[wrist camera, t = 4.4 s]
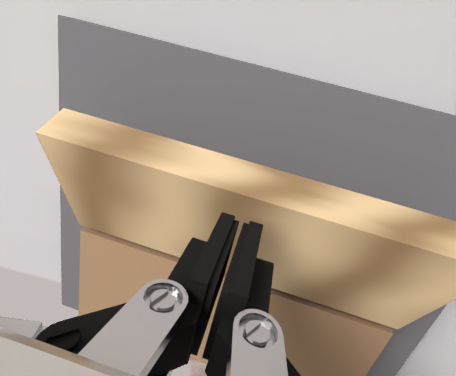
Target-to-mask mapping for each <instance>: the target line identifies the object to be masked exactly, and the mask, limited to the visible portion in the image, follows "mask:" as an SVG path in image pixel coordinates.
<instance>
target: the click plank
mask: <svg viewBox="0 0 456 376" xmlns="http://www.w3.org/2000/svg"><path fill="white" fill-rule="evenodd" d="M35 133H36V135H37V137H38V139H39V141H40V143H41V145H42V147H43V149H44V152H45V154H46V156H47V158H48V160H49V162H50V164H51V166H52V168H53V170H54V172H55V174H56V177H57V179H58V181H59V183H60V185H61V187H62V189H63V191H64V193H65V195H66V197H67V199H68V202H69V204H70V206H71V208H72V210H73V212H74V214H75V216H76V218H77V220H78V222H79V224H80V225H83V226H86V227H89V228H92V229H95V230H98V231H101V232H104V233H107V234H110V235H113V236H116V237H119V238H122V239H125V240H128V241H131V242H134V243H137V244H140V245H143V246H146V247H149V248H152V249H155V250H158V251H161V252H164V253H167V254H170V255H173V256H176V257H179V258H180V257H181V255H182V254H183V252H184V250H185V248H186V247H187V245H188V243H189V242H190V240H191V239H192V238H193V237H194V238H197V239H200V240H203V241H206V242H207V241H208V239H209V237H210V235H211V233H212V231H213V229H214V227H215V225H216V223H217V221H218V219H219V217H220V215H221V213H222V212H224V213H227V214H230V215H234V216H235V220H237V221H239V225H238V228H237V232H236V235H235V239H234V242H233V246H232V249H231V253H230V256H229V260H228V264H227V267H226V271H225V273H227V271H228V268H229V265H230V262H231V259H232V256H233V253H234V250H235V247H236V244H237V241H238V238H239V235H240V232H241V229H242V226H243V223H247V224H249V222H250V221H253V222H256V223H260V224H263V229H262V234H261V239H260V243H259V248H258V253H257V258H259V259H262V260H265V261H269V262H272V263H274V269H273V278H272V287H271V288H273V289H276V290H279V291H282V292H286V293H289V294H292V295H295V296H298V297H301V298H304V299H307V300H310V301H313V302H316V303H319V304H322V305H325V306H328V307H331V308H334V309H337V310H340V311H343V312H346V313H349V314H352V315H355V316H358V317H361V318H364V319H367V320H370V321H373V322H376V323H379V324H382V325H385V326H389V327H392V328H395V329H400V328H402V327H403V326H405V325H407V324H409V323H411V322H413V321H415V320H417V319H419V318H421V317H423V316H425V315H426V314H428V313H430V312H432V311H434V310H436V309H438V308H440V307H442V306H444V305H446V304H447V303H449V302H451V301H453V300H455V299H456V221H453V220H450V219H446V218H443V217H439V216H436V215H432V214H429V213H426V212H422V211H419V210H415V209H412V208H408V207H405V206H401V205H398V204H394V203H391V202H388V201H384V200H381V199H377V198H374V197H370V196H367V195H363V194H360V193H356V192H353V191H349V190H346V189H343V188H339V187H336V186H332V185H329V184H325V183H322V182H318V181H315V180H311V179H308V178H304V177H301V176H298V175H294V174H291V173H287V172H284V171H280V170H277V169H273V168H270V167H266V166H263V165H260V164H256V163H253V162H249V161H246V160H242V159H239V158H235V157H232V156H228V155H225V154H221V153H218V152H215V151H211V150H208V149H204V148H201V147H197V146H194V145H190V144H187V143H183V142H180V141H176V140H173V139H170V138H166V137H163V136H159V135H156V134H152V133H149V132H145V131H142V130H138V129H135V128H131V127H128V126H125V125H121V124H118V123H114V122H111V121H107V120H104V119H100V118H97V117H93V116H90V115H87V114H83V113H80V112H76V111H73V110H69V109H66V108H63V109H62V110H61V111H59V112H58V113H57V114H56V115H55V116H54V117H52V118H51V119H50V120H49V121H48V122H47V123H46V124H44V125H43V126H42V127H41V128H40V129H39V130H37V131H36V132H35Z"/></svg>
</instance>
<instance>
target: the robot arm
mask: <svg viewBox="0 0 456 376" xmlns="http://www.w3.org/2000/svg"><path fill="white" fill-rule="evenodd" d="M238 225H239V221H237V220H235V216H234V215H230V214H227V213H224V212H222V213H221V215H220V217H219V219H218V221H217V223H216V225H215V227H214V229H213V231H212V233H211V235H210V237H209V239H208V241H207V242H206V241H203V240H200V239H197V238H194V237H193V238H192V239H191V240H190V242H189V243H188V245H187V247H186V248H185V250H184V252H183V254H182V255H181V257H180V259H179V260H178V262H177V264H176V265H175V267H174V269H173V270H172V272H171V274H170V275H169V277H168V279H156V280H153V281H150V282H148V283H146V284H145V285H144V286H142V288H141V289H140V290H139V291H138V292H137V293H136V294H135V295H134V296H133V297H132V298H131V299H130V300H129V301H128V302H127V303H124V304H120V305H116V306H113V307H109V308H106V309H102V310H99V311H95V312H91V313H88V314H84V315H81V316H77V317H74V318H70V319H67V320H63V321H60V322H57V323H55V324H52V325H50V326H49V327H45V326H42V322H38V321H30V320H22V319H14V318H6V317H0V376H171V373H172V370H173V369H176V368H178V367H180V366H182V365H185V364H187V363H188V361H189V358H190V355H191V354H193V355H195V356H197V354H198V351H199V348H200V346H201V343H202V340H203V337H204V334H205V331H206V328H207V325H208V322H209V319H210V316H211V313H212V310H213V307H214V304H215V301H216V298H217V295H218V292H219V290H220V287H221V284H222V281H223V277H224V274H225V271H226V267H227V264H228V260H229V256H230V253H231V249H232V246H233V242H234V239H235V235H236V232H237V228H238ZM262 229H263V224H260V223H256V222H253V221H250V222H249V224H247V223H243V226H242V229H241V232H240V235H239V238H238V241H237V244H236V247H235V250H234V253H233V256H232V259H231V262H230V265H229V268H228V271H227V274H226V277H225V280H224V283H223V286H222V290H221V293H220V296H219V300H218V303H217V307H216V310H215V314H214V317H213V321H212V324H211V328H210V331H209V335H208V338H207V342H206V345H205V349H204V352H203V356H202V358H204V359H206V360H208V363H207V366H206V370H205V372H206V374H207V376H301V375H300V374H299V373H298V371H297V370H296V369H295V367H294V366H293V365H292V363H291V362H290V361H289V359H288V358H287V357H286V354H285V345H284V337H283V332H282V329H281V327H280V325H279V323H278V322H277V321H276V320H275V319H274V318H273V317H272V316H271V315H269V314H268V313H269V304H270V295H271V287H272V278H273V269H274V263H272V262H269V261H265V260H262V259H259V258H257V253H258V248H259V243H260V239H261V234H262Z"/></svg>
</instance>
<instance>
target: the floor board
mask: <svg viewBox="0 0 456 376" xmlns="http://www.w3.org/2000/svg"><path fill="white" fill-rule="evenodd" d="M58 49H59V111H61V110H62V109H63V108H66V109H69V110H73V111H76V112H80V113H83V114H87V115H90V116H93V117H97V118H100V119H104V120H107V121H111V122H114V123H118V124H121V125H125V126H128V127H131V128H135V129H138V130H142V131H145V132H149V133H152V134H156V135H159V136H163V137H166V138H170V139H173V140H176V141H180V142H183V143H187V144H190V145H194V146H197V147H201V148H204V149H208V150H211V151H215V152H218V153H221V154H225V155H228V156H232V157H235V158H239V159H242V160H246V161H249V162H253V163H256V164H260V165H263V166H266V167H270V168H273V169H277V170H280V171H284V172H287V173H291V174H294V175H298V176H301V177H304V178H308V179H311V180H315V181H318V182H322V183H325V184H329V185H332V186H336V187H339V188H343V189H346V190H349V191H353V192H356V193H360V194H363V195H367V196H370V197H374V198H377V199H381V200H384V201H388V202H391V203H394V204H398V205H401V206H405V207H408V208H412V209H415V210H419V211H422V212H426V213H429V214H432V215H436V216H439V217H443V218H446V219H450V220H453V221H456V116H455V115H451V114H447V113H443V112H439V111H435V110H431V109H427V108H423V107H419V106H415V105H411V104H408V103H404V102H400V101H396V100H392V99H388V98H384V97H380V96H376V95H372V94H368V93H364V92H361V91H357V90H353V89H349V88H345V87H341V86H337V85H333V84H329V83H325V82H321V81H317V80H313V79H310V78H306V77H302V76H298V75H294V74H290V73H286V72H282V71H278V70H274V69H270V68H266V67H262V66H259V65H255V64H251V63H247V62H243V61H239V60H235V59H231V58H227V57H223V56H219V55H215V54H212V53H208V52H204V51H200V50H196V49H192V48H188V47H184V46H180V45H176V44H172V43H168V42H164V41H161V40H157V39H153V38H149V37H145V36H141V35H137V34H133V33H129V32H125V31H121V30H117V29H114V28H110V27H106V26H102V25H98V24H94V23H90V22H86V21H82V20H78V19H74V18H70V17H65V16H60V15H58ZM60 198H61V272H62V304H63V305H65V306H68V307H71V308H74V309H77V310H79V316H81V315H84V314H88V313H91V312H95V311H99V310H102V309H106V308H109V307H113V306H116V305H120V304H124V303H127V302H128V301H129V300H130V299H131V298H132V297H133V296H134V295H135V294H136V293H137V292H138V291H139V290H140V289H141V288H142V286H144V285H145V284H146V283H148V282H150V281H153V280H156V279H168V277H169V275H170V274H171V272H172V270H173V269H174V267H175V265H176V264H177V262H178V260H179V259H180V258H179V257H176V256H173V255H170V254H167V253H164V252H161V251H158V250H155V249H152V248H149V247H146V246H143V245H140V244H137V243H134V242H131V241H128V240H125V239H122V238H119V237H116V236H113V235H110V234H107V233H104V232H101V231H98V230H95V229H92V228H89V227H86V226H83V225H80V224H79V222H78V220H77V218H76V216H75V214H74V212H73V210H72V208H71V206H70V204H69V202H68V199H67V197H66V195H65V193H64V191H63V189H62V187H61V185H60ZM226 274H227V273H225V274H224V277H223V281H222V284H221V287H220V290H219V292H218V295H217V298H216V301H215V304H214V307H213V310H212V313H211V316H210V319H209V322H208V325H207V328H206V331H205V334H204V337H203V340H202V343H201V346H200V348H199V351H198V354H197V356H195V355H193V354H191V355H190V358H192V359H195V360H197V361H200V362H203V363H206V364H207V363H208V360H206V359H204V358H202V356H203V352H204V349H205V345H206V342H207V338H208V335H209V331H210V328H211V324H212V321H213V317H214V314H215V310H216V307H217V303H218V300H219V296H220V293H221V290H222V286H223V283H224V280H225V277H226ZM446 305H447V304H446ZM446 305H444V306H442V307H440V308H438V309H436V310H434V311H432V312H430V313H428V314H426V315H425V316H423V317H421V318H419V319H417V320H415V321H413V322H411V323H409V324H407V325H405V326H403V327H402V328H400V329H395V328H392V327H389V326H385V325H382V324H379V323H376V322H373V321H370V320H367V319H364V318H361V317H358V316H355V315H352V314H349V313H346V312H343V311H340V310H337V309H334V308H331V307H328V306H325V305H322V304H319V303H316V302H313V301H310V300H307V299H304V298H301V297H298V296H295V295H292V294H289V293H286V292H282V291H279V290H276V289H273V288H271V295H270V304H269V313H268V314H269V315H271V316H272V317H273V318H274V319H275V320H276V321H277V322H278V323H279V325H280V327H281V329H282V332H283V337H284V345H285V354H286V357H287V358H288V359H289V361H290V362H291V363H292V365H293V366H294V367H295V369H296V370H297V371H298V373H299V374H300V375H301V376H395V375H396V373H397V372H398V371H399V369H400V368H401V366H402V365H403V364H404V362H405V361H406V360H407V358H408V357H409V355H410V354H411V353H412V351H413V350H414V349H415V347H416V346H417V344H418V343H419V342H420V340H421V339H422V338H423V336H424V335H425V333H426V332H427V331H428V329H429V328H430V327H431V325H432V324H433V322H434V321H435V320H436V318H437V317H438V316H439V314H440V313H441V311H442V310H443V309H444V307H445V306H446Z"/></svg>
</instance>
